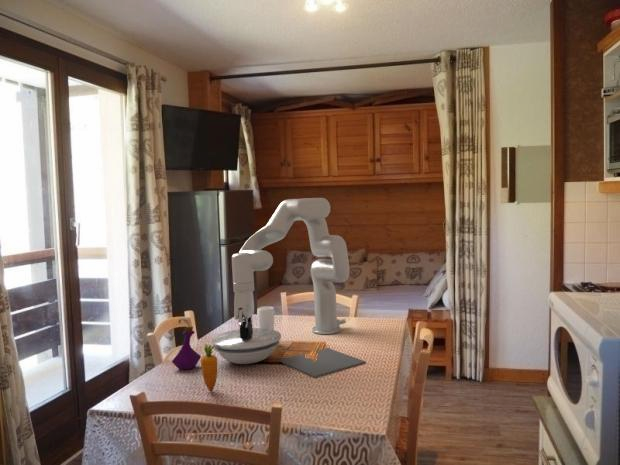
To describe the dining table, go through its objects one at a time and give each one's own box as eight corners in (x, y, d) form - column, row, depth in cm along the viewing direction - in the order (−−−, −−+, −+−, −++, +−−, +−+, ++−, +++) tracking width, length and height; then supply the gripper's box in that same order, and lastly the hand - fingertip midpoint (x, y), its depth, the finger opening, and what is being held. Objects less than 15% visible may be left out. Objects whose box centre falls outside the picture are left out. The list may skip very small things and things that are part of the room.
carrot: (203, 389, 161) (200, 342, 160) (219, 388, 161) (217, 341, 160) (201, 395, 156) (198, 346, 155) (218, 393, 156) (215, 345, 155)
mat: (327, 349, 197) (327, 347, 197) (365, 363, 179) (365, 361, 179) (279, 361, 184) (278, 360, 184) (314, 377, 166) (314, 376, 166)
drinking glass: (276, 342, 210) (275, 306, 209) (274, 347, 203) (272, 309, 202) (260, 342, 211) (258, 306, 210) (257, 347, 204) (255, 310, 203)
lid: (259, 326, 204) (258, 311, 204) (294, 339, 184) (293, 322, 183) (201, 339, 190) (200, 322, 189) (231, 354, 169) (230, 335, 169)
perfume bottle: (201, 365, 184) (198, 316, 183) (190, 372, 177) (187, 321, 176) (184, 363, 187) (181, 315, 186) (172, 370, 180) (168, 320, 179)
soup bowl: (252, 376, 171) (251, 357, 170) (200, 366, 183) (199, 348, 183) (293, 355, 191) (292, 338, 190) (243, 348, 204) (242, 331, 203)
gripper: (240, 282, 194) (243, 330, 195) (226, 291, 178) (229, 343, 179) (259, 282, 193) (262, 330, 194) (247, 291, 176) (250, 343, 178)
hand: (246, 335), depth 187 cm, fingers closed on lid, 4 cm apart
